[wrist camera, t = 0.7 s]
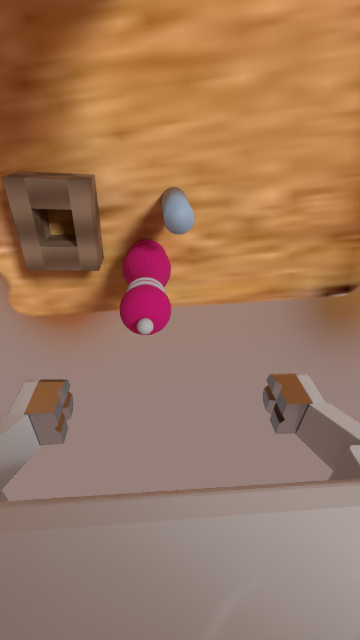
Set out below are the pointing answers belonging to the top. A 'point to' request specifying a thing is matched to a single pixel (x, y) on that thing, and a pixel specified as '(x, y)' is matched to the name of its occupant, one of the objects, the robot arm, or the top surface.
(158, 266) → the pepper mill
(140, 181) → the top surface
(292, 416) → the robot arm
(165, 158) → the top surface
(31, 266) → the socket block
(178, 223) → the peg
